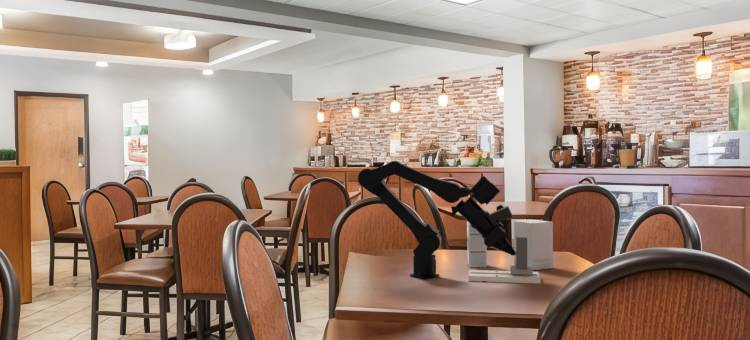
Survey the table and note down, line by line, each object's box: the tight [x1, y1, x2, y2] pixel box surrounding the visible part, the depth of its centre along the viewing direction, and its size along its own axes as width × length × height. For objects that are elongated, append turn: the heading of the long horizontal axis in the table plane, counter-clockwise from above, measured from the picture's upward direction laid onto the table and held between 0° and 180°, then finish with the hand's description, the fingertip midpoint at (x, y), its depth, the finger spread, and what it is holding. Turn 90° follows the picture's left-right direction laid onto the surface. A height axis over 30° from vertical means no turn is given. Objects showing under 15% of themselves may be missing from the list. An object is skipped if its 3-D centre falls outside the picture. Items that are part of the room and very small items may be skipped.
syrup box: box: [466, 220, 488, 268], centre depth 193 cm, size 6×6×14 cm
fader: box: [509, 235, 534, 275], centre depth 171 cm, size 6×6×11 cm
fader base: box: [467, 269, 542, 284], centre depth 172 cm, size 20×9×2 cm, turn 79°
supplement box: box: [513, 219, 554, 271], centre depth 190 cm, size 9×9×15 cm
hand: (514, 254), depth 171 cm, fingers closed, pressing on fader
